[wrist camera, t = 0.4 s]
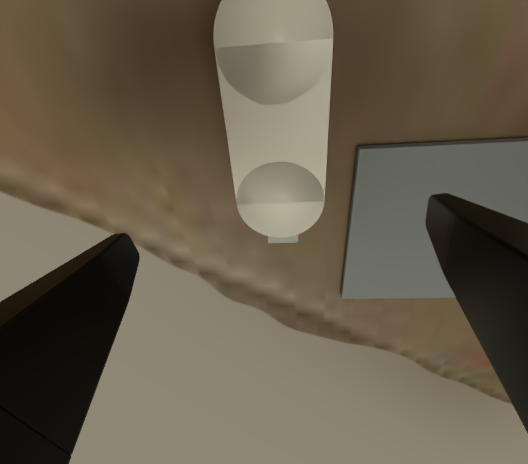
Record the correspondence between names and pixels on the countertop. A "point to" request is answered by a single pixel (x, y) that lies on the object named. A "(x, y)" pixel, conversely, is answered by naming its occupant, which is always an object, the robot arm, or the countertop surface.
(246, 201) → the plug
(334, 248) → the countertop surface
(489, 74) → the countertop surface
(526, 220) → the mat
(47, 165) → the countertop surface
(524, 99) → the countertop surface
